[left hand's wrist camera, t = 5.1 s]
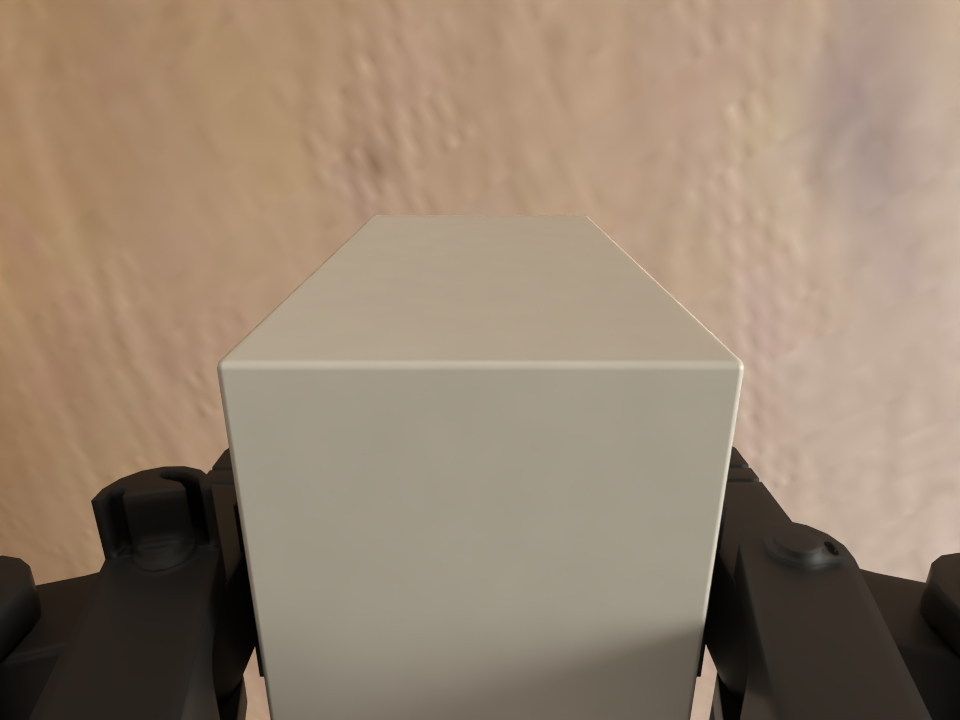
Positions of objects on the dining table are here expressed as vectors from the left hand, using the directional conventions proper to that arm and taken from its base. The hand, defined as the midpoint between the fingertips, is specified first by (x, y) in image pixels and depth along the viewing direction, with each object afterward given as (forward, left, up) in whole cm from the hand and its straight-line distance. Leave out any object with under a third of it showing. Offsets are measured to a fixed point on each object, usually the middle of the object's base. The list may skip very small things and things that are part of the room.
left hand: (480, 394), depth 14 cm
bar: (+9, 0, -1) cm, 9 cm away
